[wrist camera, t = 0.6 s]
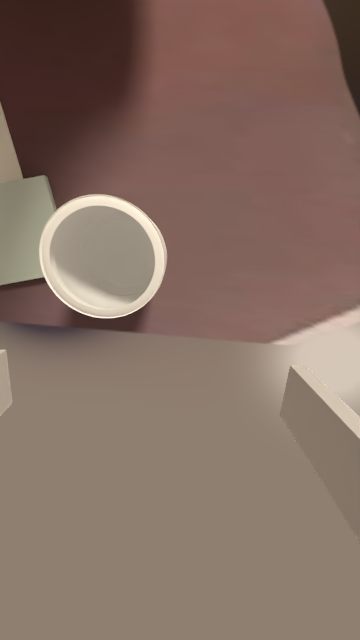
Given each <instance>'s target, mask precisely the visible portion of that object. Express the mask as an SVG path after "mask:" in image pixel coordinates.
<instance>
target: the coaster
mask: <svg viewBox="0 0 360 640" xmlns="http://www.w3.org/2000/svg"><path fill="white" fill-rule="evenodd" d="M56 210H57V209H56V205H55V202H54V198H53V195H52V191H51V188H50V184H49V181H48V177H47V176H45V175H42V176H37V177H31V178H26V179H21V180H15V181H10V182H5V183H0V285H4V284H9V283H15V282H20V281H25V280H31V279H36V278H42V277H44V274H43V272H42V268H41V264H40V258H39V246H40V239H41V235H42V232H43V230H44V227H45V225H46V223H47V222H48V220H49V219H50V217H51V216H52V215H53V214H54V212H55V211H56Z"/></svg>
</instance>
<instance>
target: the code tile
mask: <svg viewBox="0 0 360 640" xmlns="http://www.w3.org/2000/svg"><path fill="white" fill-rule="evenodd" d="M21 179H24V178H23V175H22V171H21V168H20V165H19V161H18V158H17V155H16V152H15V148H14V145H13V142H12V138H11V135H10V132H9V129H8V125H7V122H6V119H5V115H4V112H3V109H2V105H1V102H0V183H5V182H10V181H15V180H21Z"/></svg>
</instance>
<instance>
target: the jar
mask: <svg viewBox="0 0 360 640" xmlns="http://www.w3.org/2000/svg"><path fill="white" fill-rule="evenodd" d="M39 258H40V264H41V268H42V272H43V274H44V277H45V279H46V281H47V283H48V285H49V286H50V288H51V289H52V291H53V292H54V293H55V294H56V296H57V297H58V298H59V299H60V300H61V301H63V302H64V303H65V304H66V305H68V306H69V307H71V308H72V309H74V310H76V311H78V312H80V313H82V314H85V315H88V316H92V317H97V318H116V317H121V316H125V315H128V314H130V313H133V312H135V311H137V310H138V309H140V308H141V307H143V306H144V305H145V304H146V303H147V302H148V301H149V300H150V299H151V298H152V297H153V296H154V295H155V293H156V292H157V290H158V288H159V287H160V285H161V282H162V279H163V276H164V273H165V269H166V264H167V251H166V245H165V242H164V239H163V237H162V234H161V232H160V231H159V229H158V228H157V226H156V225H155V224H154V222H153V221H152V220H151V219H150V218H149V217H148V216H147V215H146V214H145V213H144V212H143V211H141V210H140V209H139V208H138V207H136V206H134V205H133V204H131V203H129V202H127V201H125V200H123V199H120V198H117V197H114V196H110V195H102V194H93V195H85V196H81V197H78V198H75V199H73V200H71V201H69V202H67V203H65V204H64V205H62V206H61V207H60V208H59V209H57V210H56V211H55V212H54V214H53V215H52V216H51V217H50V219H49V220H48V222H47V223H46V225H45V227H44V230H43V232H42V235H41V239H40V246H39Z"/></svg>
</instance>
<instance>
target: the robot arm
mask: <svg viewBox="0 0 360 640" xmlns="http://www.w3.org/2000/svg"><path fill="white" fill-rule="evenodd" d="M11 404H12V395H11V385H10V377H9V368H8V360H7V352H6V350H0V416H1V415H2V414H3V412H4V411H5V410H6V409H7V408H8V407H9V406H10V405H11ZM280 416H281V417H282V419H283V421H284V422H285V424H286V426H287V427H288V429H289V430H290V432H291V433H292V435H293V437H294V438H295V440H296V442H297V443H298V445H299V446H300V448H301V449H302V451H303V453H304V454H305V456H306V458H307V459H308V461H309V463H310V464H311V466H312V467H313V469H314V471H315V472H316V474H317V475H318V477H319V479H320V480H321V482H322V483H323V485H324V487H325V488H326V490H327V492H328V493H329V495H330V496H331V498H332V499H333V501H334V503H335V504H336V506H337V508H338V509H339V510H340V512H341V514H342V515H343V517H344V519H345V520H346V522H347V524H348V525H349V527H350V529H351V530H352V532H353V533H354V535H355V537H356V538H357V540H358V541H359V543H360V417H359V416H358V415H357V414H356V413H355V412H354V411H353V410H352V409H351V408H350V407H348V406H347V405H346V404H345V403H344V402H343V401H342V400H341V399H340V398H339V397H338V396H337V395H336V394H335V393H334V392H333V391H332V390H331V389H329V388H328V387H327V386H326V385H325V384H324V383H323V382H322V381H321V380H320V379H319V378H318V377H317V376H316V375H315V374H314V373H312V372H311V371H310V370H309V369H308V368H307V367H306V366H292V365H291V366H290V369H289V374H288V379H287V383H286V388H285V393H284V397H283V402H282V407H281V412H280Z"/></svg>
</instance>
